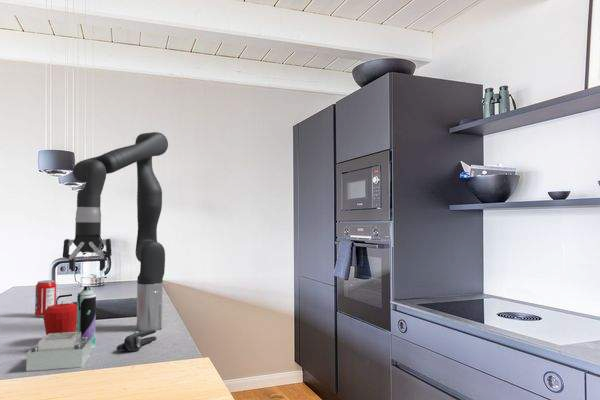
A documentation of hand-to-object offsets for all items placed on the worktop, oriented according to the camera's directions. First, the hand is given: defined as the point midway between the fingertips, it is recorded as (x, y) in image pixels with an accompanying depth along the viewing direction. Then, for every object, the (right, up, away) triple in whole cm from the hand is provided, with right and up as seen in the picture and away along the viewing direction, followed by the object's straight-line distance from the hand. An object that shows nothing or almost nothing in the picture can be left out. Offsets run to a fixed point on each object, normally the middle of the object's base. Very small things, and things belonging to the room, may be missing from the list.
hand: (87, 270), depth 145 cm
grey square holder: (0, -24, -16) cm, 29 cm away
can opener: (+17, -25, +1) cm, 31 cm away
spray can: (0, -25, -1) cm, 25 cm away
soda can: (-40, -27, +47) cm, 68 cm away
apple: (-12, -25, +7) cm, 29 cm away
